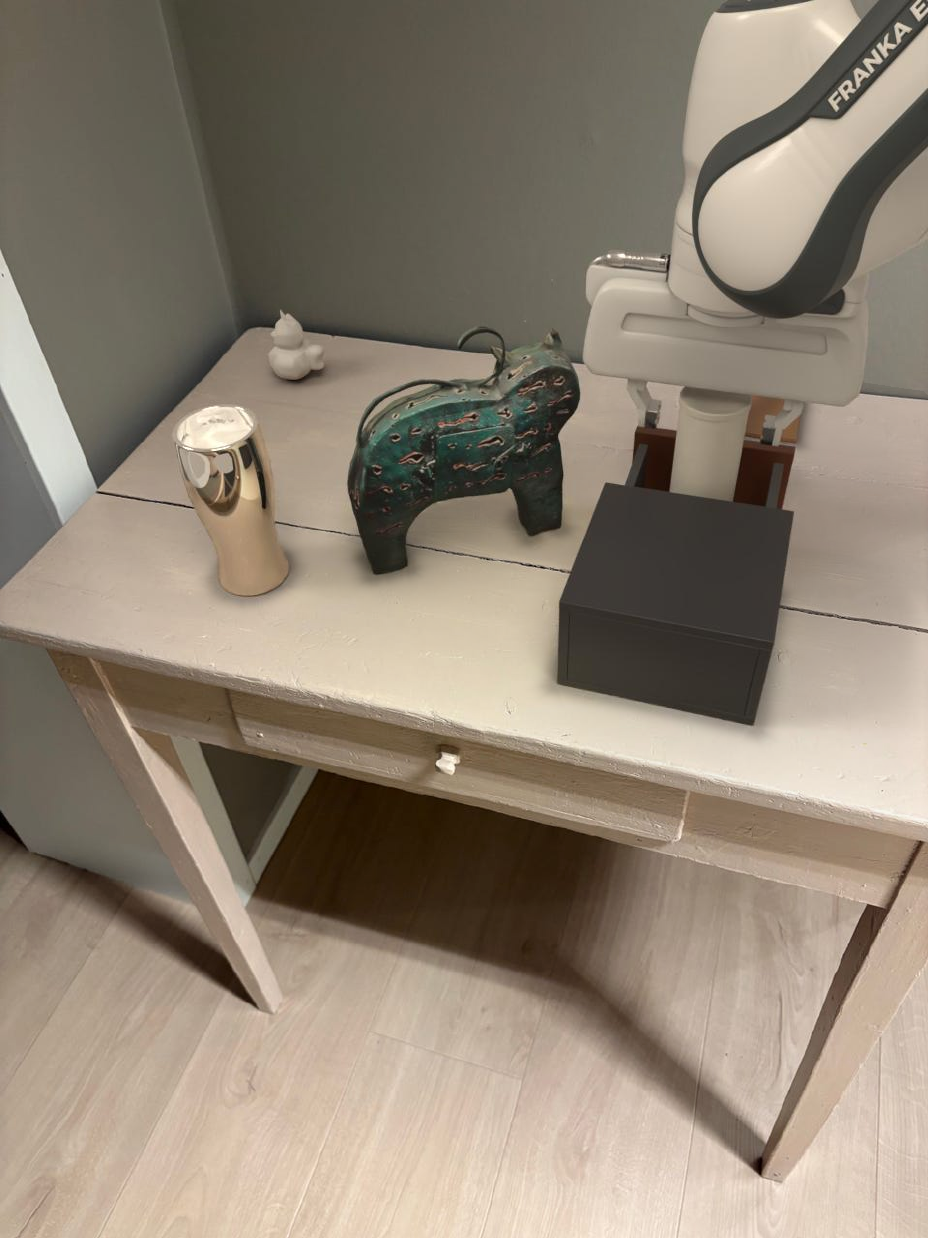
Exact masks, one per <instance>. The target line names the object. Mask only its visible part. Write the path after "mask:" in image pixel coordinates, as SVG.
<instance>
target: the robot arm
mask: <svg viewBox="0 0 928 1238" xmlns="http://www.w3.org/2000/svg"><path fill="white" fill-rule="evenodd" d="M688 91H689V92H688V98H687V105H686V111H685V120H684V128H683V137H682V146H681V147H682V149H681V150H682V158H683V165H684V184H683V188H682V191H681V194H680V197H679V199H678V202H677V205H676V206H675V212H674V218H673V219H674V220H673V230H672V239H671V247H670V254H667V253H654V252H628V251H627V250H622V249H610V250H608V251H607V253H606V254H602V255H599V256H597V257H595V258H594V259H593V260H592V261H591V262H590V263H589V264H588V266H587V267H586V271H585V280H584V281H585V283H584V293H585V299H586V300H587V302H588V304H589V305H590V307H591V308H590V313H589V315H588V320H587V325H586V330H585V334H584V342H583V350H582V362H583V364H584V365H585V367H586V368H587V369H588V371H589V372H590V373H591V374H592V375H595V376H601V377H602V376H603V377H610V378H618V379H626V380H627V382H626V384H627V385H626V391H627V392H628V393H627V394H629V397H630V398H631V400H632V402H633V404H634V405H635V407H636V409H637V410H638V419H637V426H638V427H644V428H651V429H656V428H658V425H659V422H660V417H661V409H662V400H661V399H654V398H653V397H652V395H651V393H650V391H649V389H648V387H647V385H648V383H656V384H664V385H672V386H678V387H685V386H686V387H693V388H701V389H709V390H716V391H724V392H731V393H739V394H747V395H754V396H762V397H770V398H777V399H785V401H784V407H783V409H782V410H781V411H780V412H779V413H778V414H777V415H776V416H774V415H765V419H764V424H763V429H762V434H761V438H759V442H760V443H759V444H764V445H771V446H777V447H779V444H780V443H781V441H780V439H781V434H782V430H783V429H785V428H786V427H787V426H789V425H790V424H791V423H792V422H793V421H794V420H795V419H796V418H797V417H798V416H799V415H800V416H801V415H802V413H803V410H804V406H805V403H809V404H818V405H824V406H832V407H840V408H843V407H846V406H848V405H849V404H851V403H852V402H853V401H855V400H856V399H858V398H859V396H860V393H861V389H862V385H863V382H864V381H863V380H864V375H865V367H866V360H867V351H868V341H869V321H870V320H869V318H870V317H869V315H870V314H869V311H870V310H869V305H868V301H867V299H866V294H867V292H868V286H869V281H870V272H872V271H874V270H875V269H878V268H879V267H881V266H883V265H885V264H887V263H888V262H890V261H892V260H894V259H896V258H898V257H899V256H900V255H902V254H904V253H906V252H908V251H909V250H911V249H913V248H915V247H917V246H918V245H921V244H922V243H924V242H925V241H928V0H877V1H876V2H875V4H874V5H873V6H872V7H871V8H870V9H869V11H868V12H867V13H866V14H865V15H864V16H863V17H862V18H860V17H859V15H858V13H857V11H856V10H855V8H854V6H853V4H852V1H851V0H727V1H725V2H724V3H722V4H721V5H720V7H718V9H716V10H715V11H714V12H712V14H711V16H710V18H709V19H708V22H707V23H706V25H705V28H704V31H703V33H702V36H701V39H700V42H699V45H698V49H697V52H696V56H695V60H694V65H693V70H692V75H691V80H690V86H689V90H688Z"/></svg>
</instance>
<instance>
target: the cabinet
mask: <svg viewBox="0 0 928 1238" xmlns="http://www.w3.org/2000/svg"><path fill="white" fill-rule="evenodd" d="M794 516H795V511H794V510H788V509H783V508H782V509H777V508H770V507H764V506H757V505H751V504H744V503H738V502H731V501H725V500H718V499H711V498H705V497H698V496H692V495H685V494H679V493H672V492H666V491H659V490H653V489H646V488H640V487H633V486H627V485H625V484H619V483H612V482H605V483H604V484H603V487H602V489H601V493H600V496H599V498H598V500H597V502H596V506H595V507H594V510H593V513H592V516H591V518H590V521H589V523H588V527H586V528H587V529H586V531H585V533H584V536H583V539H582V541H581V544H580V547H579V548H578V551H577V555H576V557H575V559H574V562H573V564H572V567H571V570H570V572H569V575H568V577H567V579H566V583H565V585H564V588H563V589H562V590H563V591H562V593H561V596H560V597H559V601H558V627H557V628H558V629H557V630H558V631H557V632H558V633H557V668H556V669H557V670H556V671H557V674H556V676H557V677H556V684H557V685H561V686H565V687H569V688H573V689H574V688H575V689H579V690H583V691H587V692H594V693H598V694H603V695H606V696H611V697H612V696H613V697H618V698H620V699H621V698H622V699H626V700H631V701H634V702H635V701H636V702H641V703H645V704H649V705H654V706H659V707H664V708H667V709H674V710H678V711H682V712H687V713H691V714H692V713H693V714H697V715H701V716H707V717H712V718H715V719H721V720H725V721H728V722H729V721H730V722H734V723H738V724H739V723H740V724H743V725H748V726H754V725H755V722H756V717H757V713H758V711H759V705H760V702H761V698H762V693H763V689H764V685H765V681H766V678H767V673H768V670H769V666H770V661H771V657H772V653H773V650H774V645H775V642H776V641H775V640H776V633H777V626H778V619H779V613H780V609H781V608H780V607H781V600H782V595H783V587H784V581H785V574H786V569H787V562H788V561H787V560H788V555H789V549H790V541H791V535H792V528H793V521H794Z"/></svg>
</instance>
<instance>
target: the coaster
mask: <svg viewBox="0 0 928 1238" xmlns="http://www.w3.org/2000/svg"><path fill="white" fill-rule="evenodd" d="M784 401H785V399H777V398H770V397H762V396H754V395H752V405H751V409H750V411H749V414H748V420H747V425H746V431H745V436H744V437H749V438H750V437H751V438H756V439H757V438H758V439H760V438H761V434H762V429H763V424H764V419H765V415H774V416H776V415H777V414H778V413H779V412H780V411H781V410H782V409H783V407H784ZM800 419H801V414H800V415H799V416H798V417H797V418H796V419H795V420H794V421H793V422H792V423H791V424H790V425H789V426H787V427H786V428H785V429H783V430H782V434H781V439H780V442H787V443H794V444H795V443H797V438H798V431H799V425H800Z"/></svg>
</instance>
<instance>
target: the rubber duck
mask: <svg viewBox="0 0 928 1238" xmlns="http://www.w3.org/2000/svg"><path fill="white" fill-rule="evenodd" d="M279 313H280V319H278V321H276V323H275V326H274V330H272V331H271V332H270V337H271V338H272V339H273V343H274V344H275V345H274V347H272V349H271V350H270V352H269V353H268V354H267V355H268V356H267V357H268V362H269V365H270V367H271V368H272V370H273V372H274V373H275V374H276V375H277V376H278V377H279V378H281V379H284V380H291V381H293V380H295V381H296V380H301V379H302V378H305V376H307V375H308V374H309V373H310V372H311V371H312V370H313V371H318V370H322V369H323V368H324V367H325V362H324V358H323V357H324V354H325V349H324V346H322V345H320V344H312V343H311V341H310V340H309V339H305V332H304V330H303V327H302V325H301V323H300V322H299V321H298V320H297V319H295V317H293V316H292V314H290V313H286V314H285V313H284V311H283V310H282V309H281V308H279Z"/></svg>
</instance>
